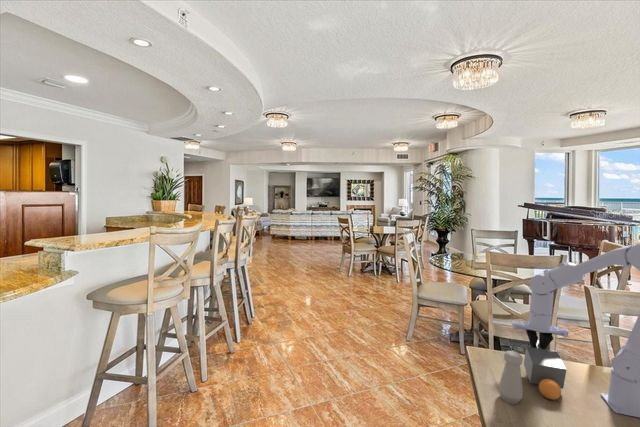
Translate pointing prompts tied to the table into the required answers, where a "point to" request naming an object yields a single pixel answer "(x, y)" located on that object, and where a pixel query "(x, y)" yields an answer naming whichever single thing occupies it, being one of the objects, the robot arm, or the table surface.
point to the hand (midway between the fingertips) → (536, 354)
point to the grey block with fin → (544, 365)
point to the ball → (550, 389)
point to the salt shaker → (511, 378)
